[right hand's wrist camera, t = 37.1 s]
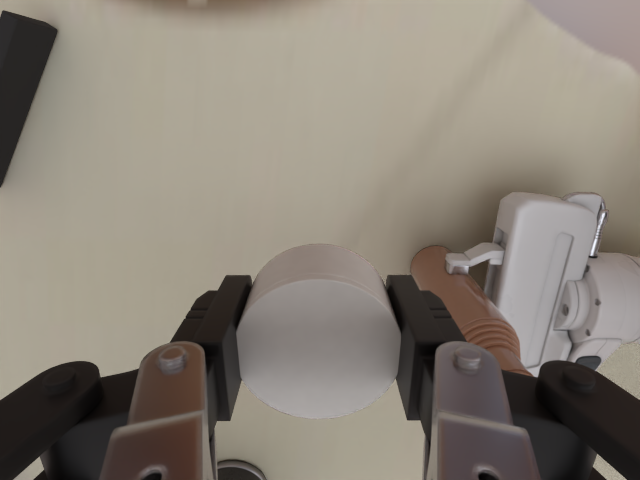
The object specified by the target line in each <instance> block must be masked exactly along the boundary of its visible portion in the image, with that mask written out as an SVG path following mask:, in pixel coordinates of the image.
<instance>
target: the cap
mask: <svg viewBox="0 0 640 480" xmlns="http://www.w3.org/2000/svg"><path fill="white" fill-rule="evenodd" d="M236 336H237V346H238V357H239V367H240V376H241V379H242V380H243V382H244V383H245V385H246V386H247V387H248V389H249V390H250V391H251V392H252V393H253V394H254V395H255V396H256V397H257V398H258V399H260V400H261V401H262V402H264V403H265V404H267V405H268V406H270V407H272V408H274V409H276V410H278V411H280V412H283V413H285V414H289V415H292V416H296V417H301V418H309V419H328V418H336V417H341V416H345V415H348V414H351V413H354V412H357V411H359V410H361V409H363V408H365V407H367V406H368V405H370V404H372V403H373V402H374V401H376V400H377V399H378V398H380V397H381V396H382V395H383V394H384V393H385V392H386V391H387V390H388V388H389V387H390V386H391V384H392V383H393V381H394V380H395V378H396V376H397V374H398V366H399V355H400V344H401V332H400V328H399V325H398V322H397V319H396V316H395V313H394V310H393V307H392V304H391V301H390V298H389V295H388V292H387V289H386V287H385V284H384V282H383V280H382V278H381V276H380V275H379V273H378V272H377V271H376V269H375V268H374V267H373V266H372V265H371V264H370V263H369V262H368V261H367V260H365V259H364V258H363V257H361V256H360V255H358V254H356V253H354V252H352V251H350V250H348V249H345V248H342V247H339V246H334V245H328V244H309V245H302V246H299V247H295V248H292V249H289V250H287V251H285V252H283V253H281V254H279V255H277V256H276V257H274V258H273V259H272V260H271V261H269V262H268V263H267V264H266V265H265V266H264V267H263V268H262V269H261V271H260V272H259V274H258V275H257V277H256V278H255V280H254V282H253V285H252V288H251V290H250V293H249V296H248V299H247V302H246V304H245V307H244V310H243V313H242V316H241V318H240V321H239V324H238V327H237V330H236Z"/></svg>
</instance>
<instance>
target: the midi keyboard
mask: <svg viewBox="0 0 640 480" xmlns="http://www.w3.org/2000/svg"><path fill="white" fill-rule="evenodd" d="M56 34H57V29H55V28H54V27H52V26H51V25H49V24H48V23H46V22H43V21H39V20H36V19H32V18H29V17H25V16H22V15H18V14H15V13H11V12H8V11H2V14H1V17H0V188H1V185H2V182H3V179H4V177H5V174H6V171H7V168H8V166H9V163H10V160H11V157H12V155H13V152H14V149H15V146H16V144H17V141H18V138H19V135H20V133H21V130H22V127H23V124H24V122H25V119H26V116H27V113H28V111H29V108H30V105H31V102H32V100H33V97H34V94H35V91H36V89H37V86H38V83H39V81H40V78H41V75H42V72H43V70H44V67H45V64H46V61H47V59H48V56H49V53H50V50H51V48H52V45H53V42H54V39H55V37H56Z"/></svg>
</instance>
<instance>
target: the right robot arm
mask: <svg viewBox="0 0 640 480" xmlns="http://www.w3.org/2000/svg"><path fill="white" fill-rule="evenodd" d="M251 288H252V280H251V276H250V275H226V276H225V278H224V280H223V282H222V284H221V286H220V287H219V289H218V291H207V292H206V293H205V294H203V295H202V296H200V297H199V298H197V299H196V301H195V303H194V304H193V306H192V307H191V311H189V312H188V314H187V316H186V319H184V320H183V322H182V324H181V325H180V327H179V328H178V330H177V332H176V333H175V335H174V337H173V338H172V340H171V341H170V343H168V344H165V345H162V346H160V347H158V348H156V349H154V350H152V351H151V352H149V353H148V354H147V355H146V356H145V357H144V358H143V360H142V361H141V364H140V367H139V369H136V370H133V371H129V372H125V373H120V374H116V375H111V376H106V377H100V373H99V369H98V367H97V366H96V365H95V364H93V363H91V362H86V361H75V362H69V363H64V364H61V365H58V366H55V367H52V368H50V369H48V370H46V371H44V372H42V373H40V374H39V375H37V376H36V377H34V378H33V379H31V380H30V381H28V382H27V383H25V384H24V385H22V386H21V387H19V388H18V389H16V390H15V391H13V392H12V393H10V394H9V395H7V396H6V397H4V398H3V399H2V400H0V480H13V479H14V478H15V477H16V476H18V475H19V474H20V473H21V472H22V471H23V470H24V469H26V468H27V467H28V466H29V465H30V464H31V463H32V462H33V461H35V460H36V459H37V458H38V457H39V456H40V459H41V461H42V464H43V467H44V470H43V471H42V472H41V473H40V474H39V475H38V476H37V477H36V478H35V479H34V480H266V478H265V476H264V475H263V473H262V472H261V471H260V470H259V469H257V468H256V467H254V466H252V465H250V464H248V463H245V462H241V461H224V462H220V463H217V451H216V438H215V430H214V428H215V425H216V422H217V421H230V420H231V416H232V413H233V409H234V405H235V402H236V398H237V395H238V391H239V388H240V384H241V380H242V379H241V376H240V367H239V357H238V346H237V336H236V330H237V327H238V324H239V321H240V318H241V316H242V313H243V310H244V307H245V304H246V302H247V299H248V296H249V293H250V290H251ZM386 289H387V292H388V295H389V298H390V301H391V304H392V307H393V310H394V313H395V316H396V319H397V322H398V325H399V328H400V332H401V344H400V355H399V366H398V374H397V376H396V381H397V385H398V388H399V392H400V396H401V399H402V403H403V407H404V410H405V414H406V418H407V420H421V424H422V427H423V430H424V433H425V438H424V451H423V474H422V480H606V479H605V478H604V477H603V476H602V475H601V474H600V473H599V472H598V471H597V470H595V469H594V468H593V464H594V461H595V458H596V456H597V454H599V455H600V456H601V457H602V458H603V459H604V460H605V461H606V462H608V463H609V464H610V465H611V466H612V467H613V468H614V469H616V470H617V471H618V472H619V473H620V474H621V475H622V476H624V477H625V478H626V479H627V480H640V400H638V399H637V398H636V397H634V396H633V395H631V394H630V393H628V392H627V391H625V390H624V389H622V388H621V387H619V386H618V385H616V384H615V383H613V382H612V381H610V380H609V379H607V378H606V377H604V376H603V375H601V374H600V373H598V372H597V371H595V370H593V369H591V368H589V367H586V366H584V365H581V364H578V363H574V362H570V361H564V360H552V361H548V362H545V363H544V364H542V366H541V367H540V370H539V374H538V377H533V376H529V375H524V374H519V373H514V372H510V371H506V370H503V369H501V367H500V364H499V361H498V360H497V358H496V357H495V356H494V355H493V354H492V353H491V352H489V351H488V350H486V349H484V348H482V347H480V346H478V345H475V344H472V343H468V342H467V340H466V339H465V337H464V336H463V334H462V332H461V331H460V329H459V327H458V326H457V324H456V322H455V321H454V319H452V316H451V314H450V313H449V311H448V310H447V308H446V306H445V304H444V303H443V301H442V299H441V298H439V297H438V296H437V295H435V294H434V293H432V292H431V291H430V290H420V289H419V288H418V286H417V284H416V282H415V280H414V278H413V276H412V275H388V276H387V280H386Z"/></svg>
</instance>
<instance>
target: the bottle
mask: <svg viewBox="0 0 640 480" xmlns="http://www.w3.org/2000/svg"><path fill="white" fill-rule="evenodd" d="M448 253H452V252H451V251H450V250H448V249H447V248H444V247H441V246H430V247H427V248H424V249H423V250H421V251H420V252H418V253H417V254H416V256H415V257H414V258H413V260H412V263H411V275H412V276H413V278H414V280H415V282H416V284H417V286H418V288H419V289H420V290H430V291H431V292H432V293H434V294H435V295H437V296H438V297H439V298H441V299H442V301H443V303H444V304H445V306H446V308H447V310H448V311H449V313H450V314H451V316H452V319H454V321H455V322H456V324H457V326H458V327H459V329H460V331H461V332H462V334H463V336H464V337H465V339H466V340H467V342H468V343H472V344H475V345H478V346H480V347H482V348H484V349H486V350H488V351H489V352H491V353H492V354H493V355H494V356H495V357H496V358H497V360H498V361H499V364H500V367H501V369H503V370H506V371H510V372H514V373H519V374H524V375H529V376H533V375H532V374H531V372H529V371H528V370H527V369H526V367H525V366H524V365H523V363H522V362H521V357H520V355H521V354H520V342H519V338H518V336H517V333H516V331H515V329H514V328H513V327H512V326H511V324H510V323H509V322H508V321H507V319H506V318H505V317H504V316H503V314H502V313H501V312H500V311H499V310H498V308H497V307H496V306H495V305H494V303H493V302H492V301H491V300H490V298H489V297H488V296H487V295H486V294H485V292H484V291H483V290H482V289H481V287H480V286H479V285H478V284H477V282H476V281H475V280H474V279H473V278H472V276H471V275H470V274H469V273H468V275H460V274H459V273H458V274H456V275H452V274H449V273H447V271H446V270H445V269H444V266H445V259H446V254H448ZM533 377H534V376H533Z"/></svg>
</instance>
